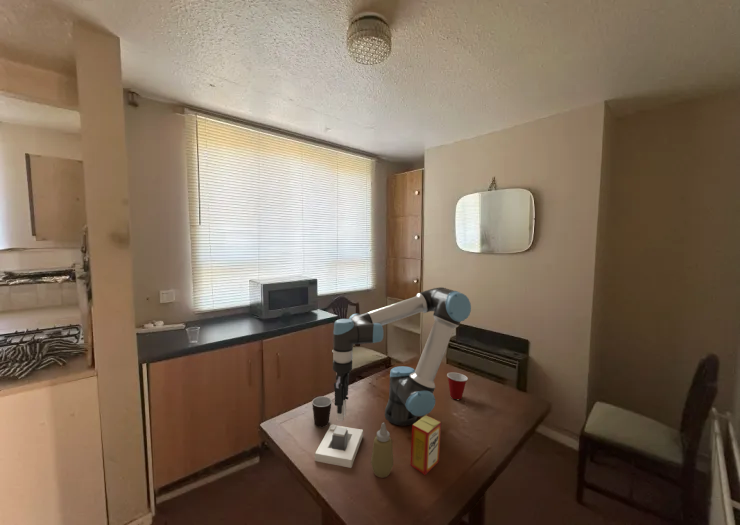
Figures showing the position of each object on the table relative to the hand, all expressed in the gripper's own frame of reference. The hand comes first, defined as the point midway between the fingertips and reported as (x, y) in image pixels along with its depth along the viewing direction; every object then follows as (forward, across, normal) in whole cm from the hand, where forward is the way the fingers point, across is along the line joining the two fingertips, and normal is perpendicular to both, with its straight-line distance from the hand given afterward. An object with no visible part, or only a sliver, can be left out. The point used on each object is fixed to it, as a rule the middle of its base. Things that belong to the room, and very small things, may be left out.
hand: (341, 417), depth 119 cm
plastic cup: (+13, -53, +48) cm, 73 cm away
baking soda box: (+13, 0, +33) cm, 35 cm away
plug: (+12, 0, 0) cm, 12 cm away
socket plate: (+12, 0, 0) cm, 12 cm away
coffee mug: (+13, -15, -13) cm, 24 cm away
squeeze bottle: (+13, +8, +18) cm, 23 cm away
